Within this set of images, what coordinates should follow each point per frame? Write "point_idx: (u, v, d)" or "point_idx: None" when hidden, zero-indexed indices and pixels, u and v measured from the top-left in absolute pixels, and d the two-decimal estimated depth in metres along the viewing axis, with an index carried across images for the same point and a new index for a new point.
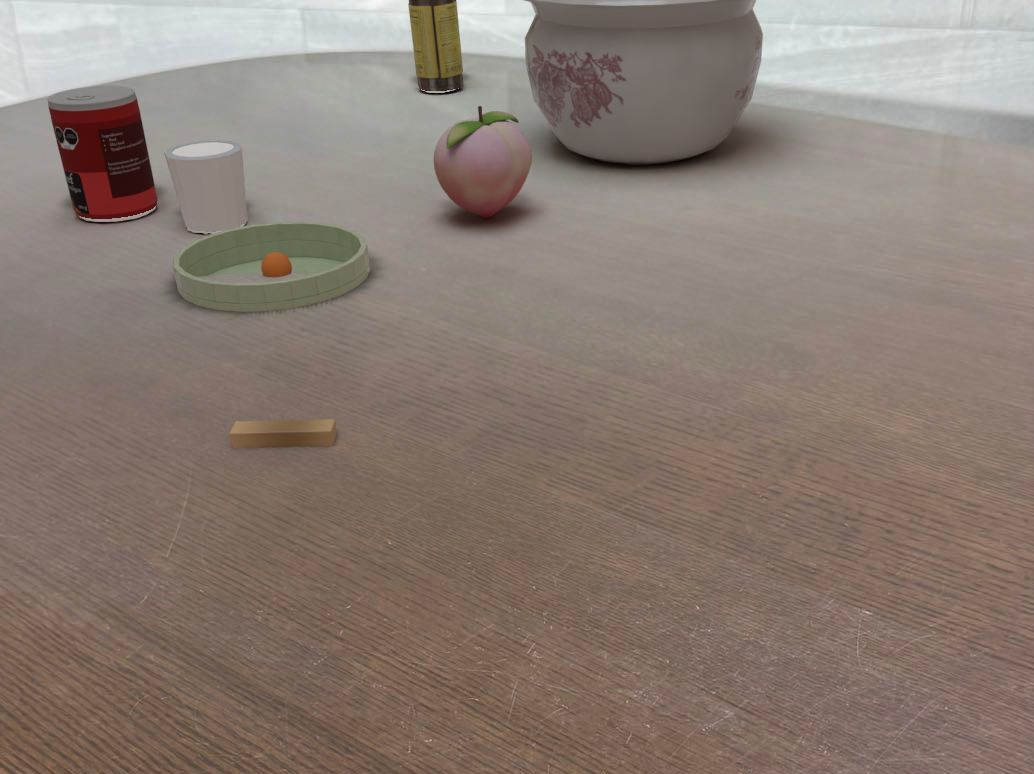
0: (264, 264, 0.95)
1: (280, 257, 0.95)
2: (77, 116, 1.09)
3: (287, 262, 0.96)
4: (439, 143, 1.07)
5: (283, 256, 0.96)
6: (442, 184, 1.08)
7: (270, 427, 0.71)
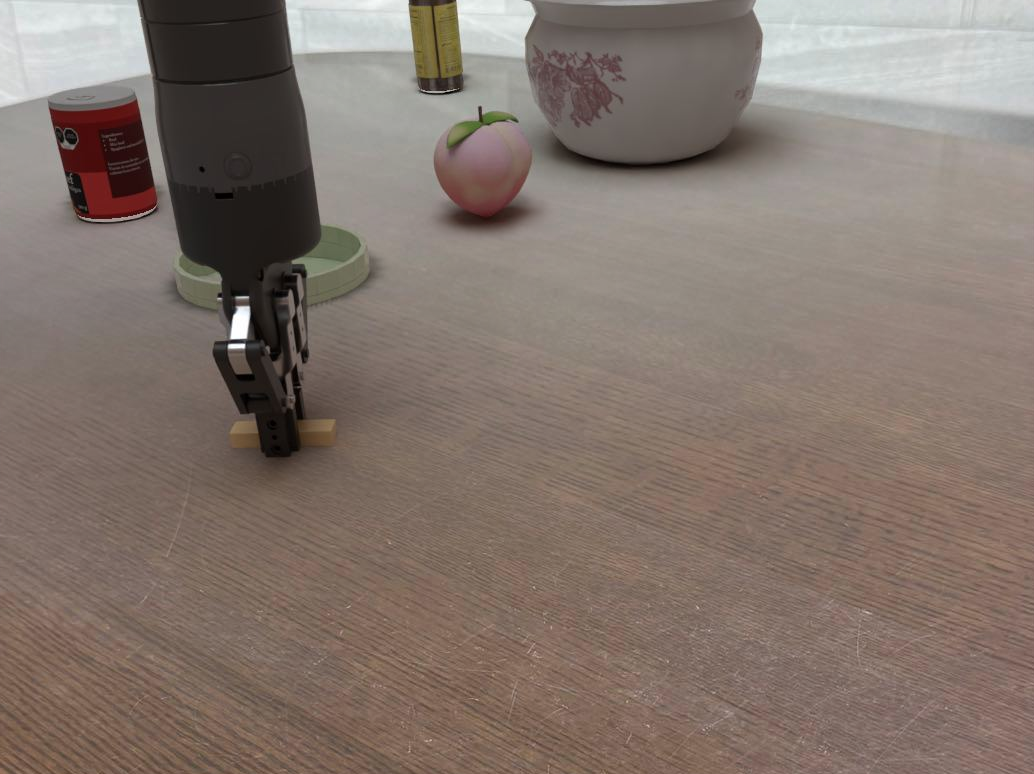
0: None
1: None
2: (77, 116, 1.09)
3: None
4: (439, 143, 1.07)
5: None
6: (442, 184, 1.08)
7: None
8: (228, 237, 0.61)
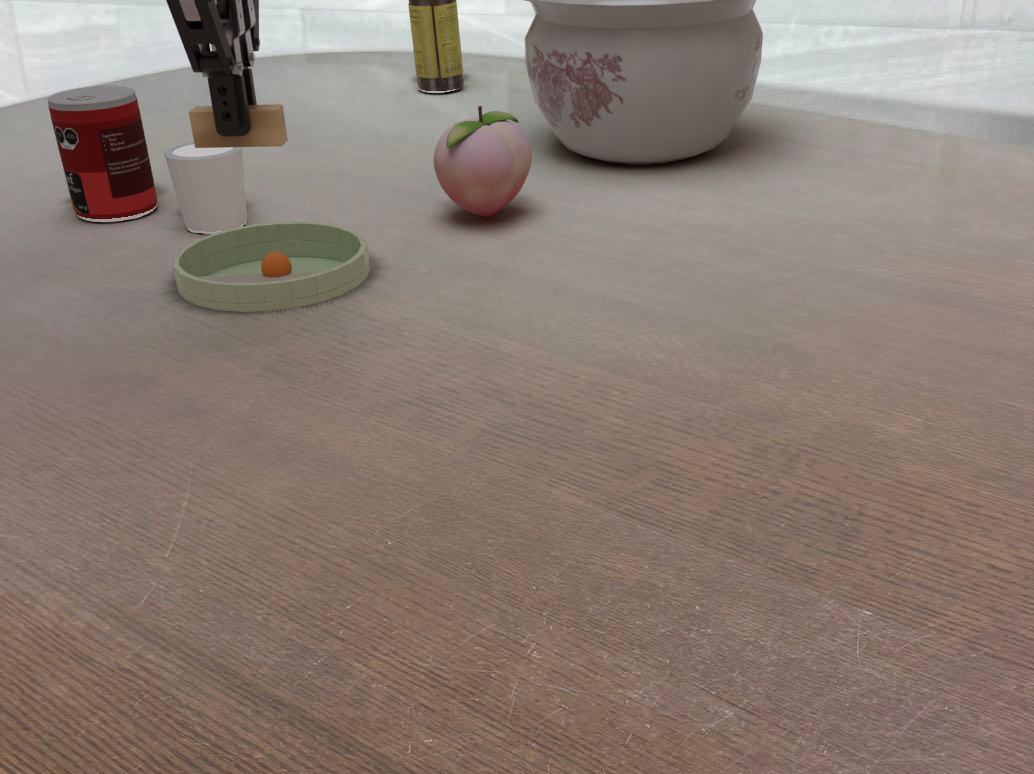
0: (264, 264, 0.95)
1: (280, 257, 0.95)
2: (77, 116, 1.09)
3: (287, 262, 0.96)
4: (439, 143, 1.07)
5: (283, 256, 0.96)
6: (442, 184, 1.08)
7: None
8: None
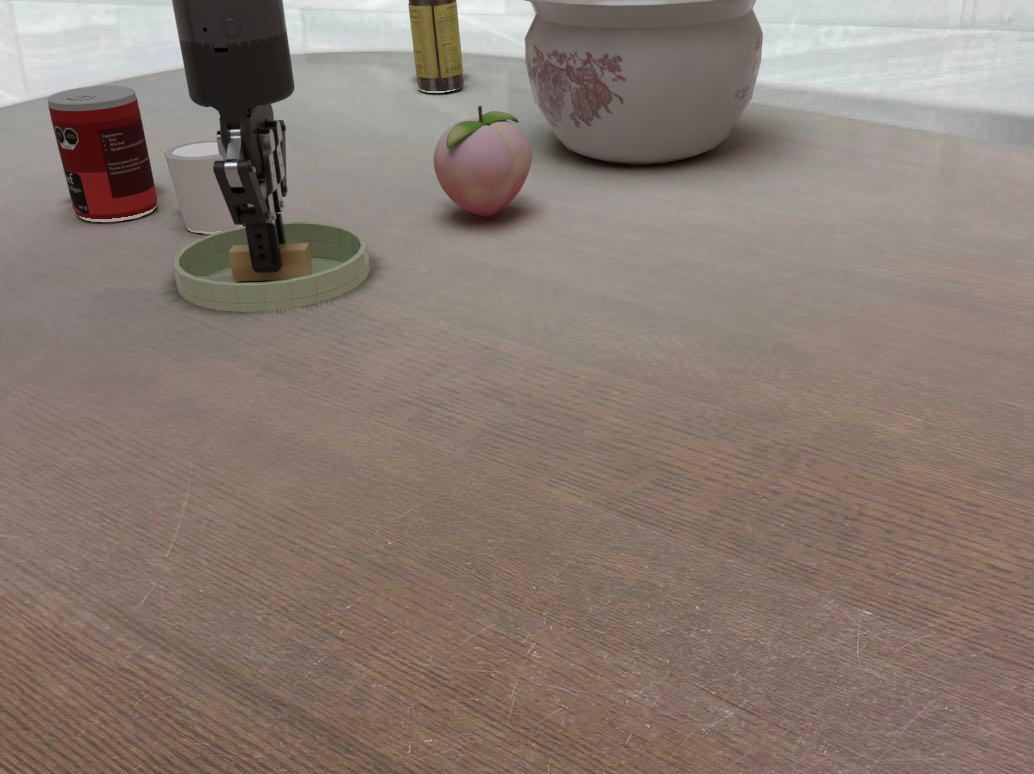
0: None
1: None
2: (77, 116, 1.09)
3: None
4: (439, 143, 1.07)
5: None
6: (442, 184, 1.08)
7: None
8: (224, 82, 0.83)
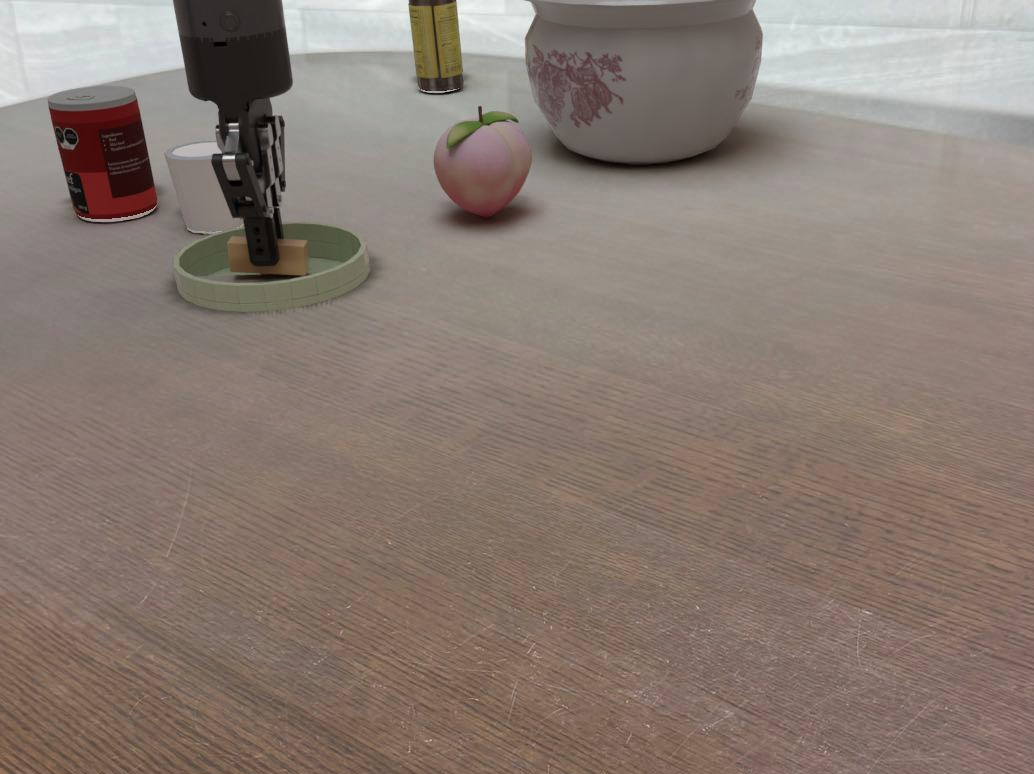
0: None
1: None
2: (77, 116, 1.09)
3: None
4: (439, 143, 1.07)
5: None
6: (442, 184, 1.08)
7: None
8: (223, 76, 0.84)
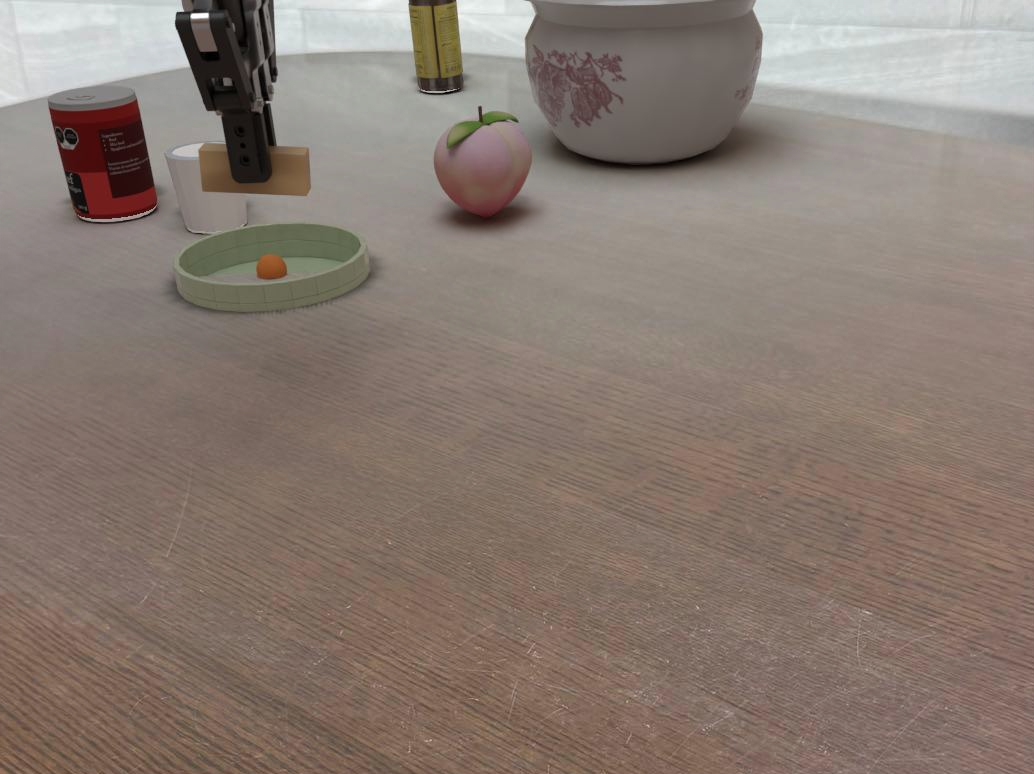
0: (261, 277, 0.95)
1: (266, 260, 0.95)
2: (77, 116, 1.09)
3: (274, 258, 0.95)
4: (439, 143, 1.07)
5: (266, 257, 0.95)
6: (442, 184, 1.08)
7: None
8: None
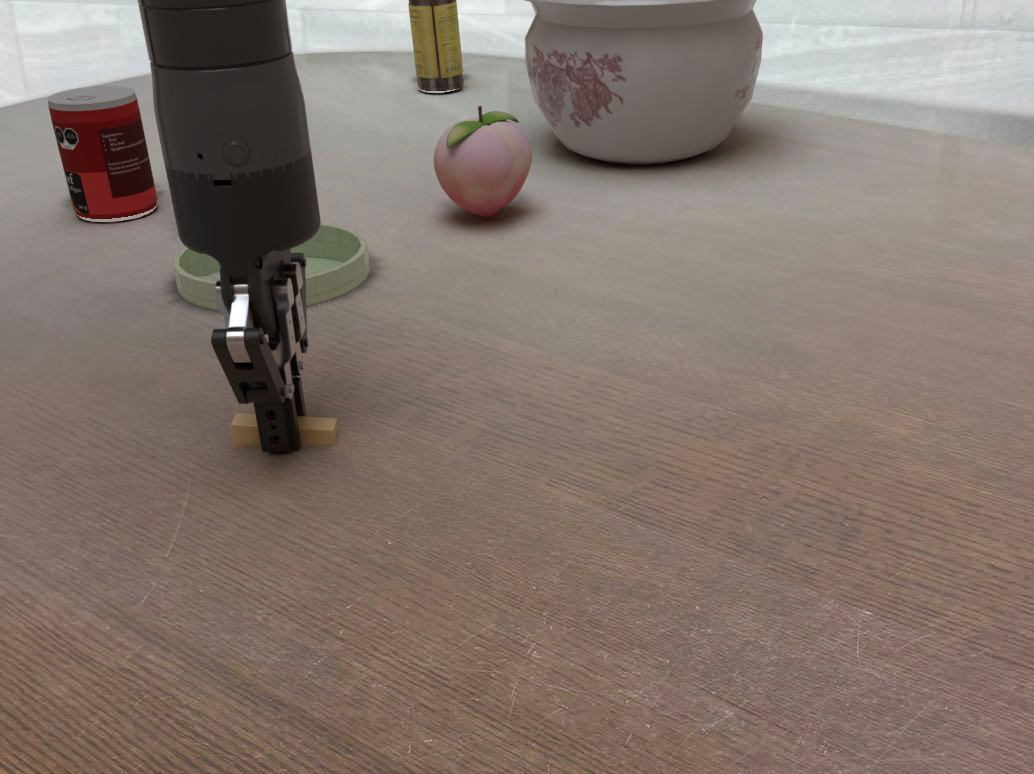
0: None
1: None
2: (77, 116, 1.09)
3: None
4: (439, 143, 1.07)
5: None
6: (442, 184, 1.08)
7: None
8: (226, 224, 0.61)
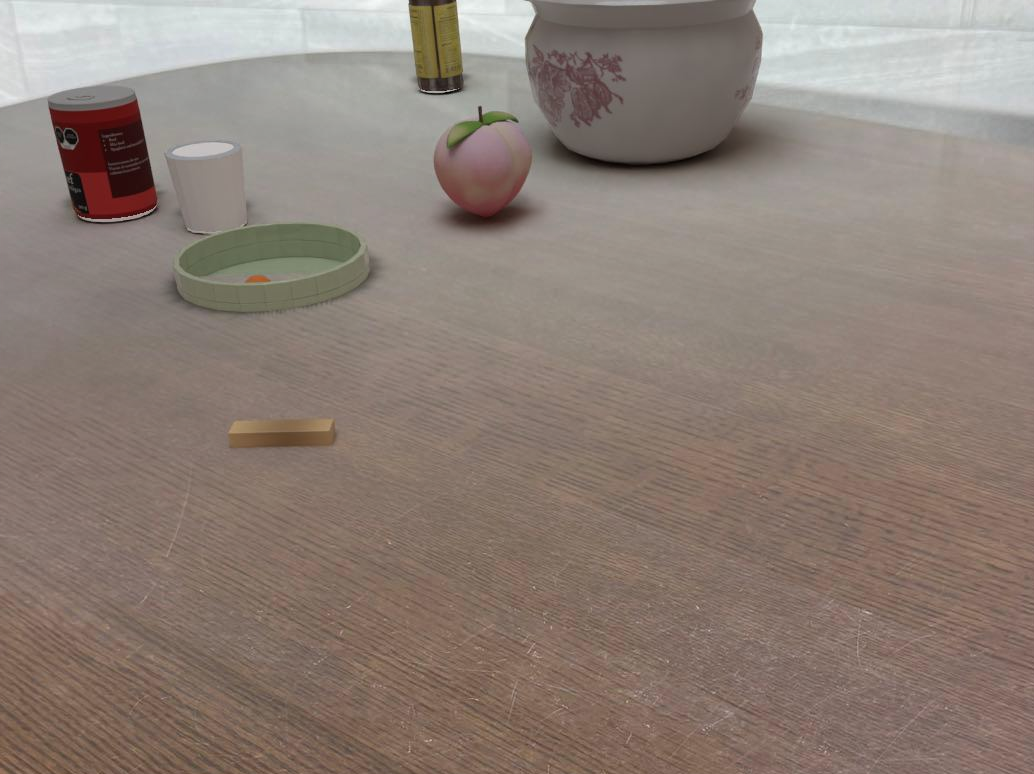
0: None
1: None
2: (77, 116, 1.09)
3: None
4: (439, 143, 1.07)
5: None
6: (442, 184, 1.08)
7: (269, 427, 0.71)
8: None
